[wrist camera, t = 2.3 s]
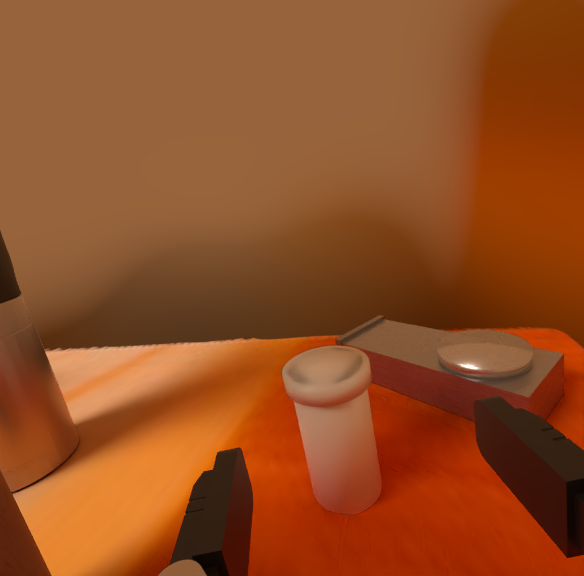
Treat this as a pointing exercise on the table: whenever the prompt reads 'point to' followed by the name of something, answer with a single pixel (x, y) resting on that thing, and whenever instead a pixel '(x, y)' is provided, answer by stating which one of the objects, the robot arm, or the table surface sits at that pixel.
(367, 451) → the white flanged cylinder
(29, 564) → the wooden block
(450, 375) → the grey soap dish block
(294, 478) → the table surface
